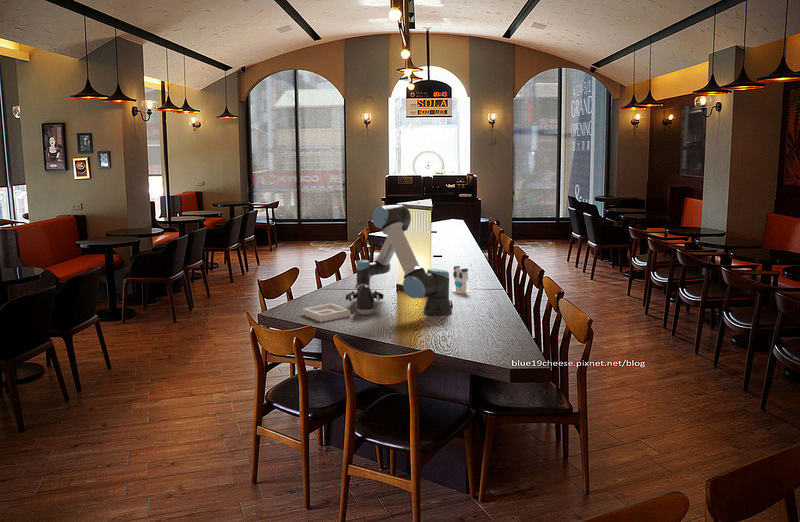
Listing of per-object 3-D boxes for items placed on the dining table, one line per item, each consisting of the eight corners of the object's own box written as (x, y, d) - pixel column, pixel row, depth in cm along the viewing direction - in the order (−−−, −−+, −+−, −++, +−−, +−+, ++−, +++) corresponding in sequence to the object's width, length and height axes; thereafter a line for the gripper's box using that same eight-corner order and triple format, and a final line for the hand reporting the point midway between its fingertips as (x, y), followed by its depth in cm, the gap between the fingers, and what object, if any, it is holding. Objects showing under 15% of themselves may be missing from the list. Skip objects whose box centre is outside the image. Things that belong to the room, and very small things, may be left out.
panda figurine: (447, 290, 390) (448, 266, 387) (463, 288, 395) (464, 264, 392) (457, 294, 379) (458, 269, 377) (473, 292, 384) (474, 268, 381)
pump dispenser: (375, 311, 340) (374, 283, 337) (374, 316, 329) (374, 287, 327) (356, 311, 339) (355, 283, 337) (355, 316, 329) (355, 288, 326)
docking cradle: (350, 316, 329) (350, 309, 329) (321, 322, 318) (320, 315, 318) (331, 309, 343) (331, 303, 343) (302, 315, 332) (302, 308, 331)
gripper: (386, 297, 353) (388, 306, 332) (341, 298, 351) (341, 307, 330) (386, 284, 352) (388, 292, 331) (341, 285, 350) (341, 293, 329)
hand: (365, 300), depth 330 cm, fingers open, 13 cm apart
